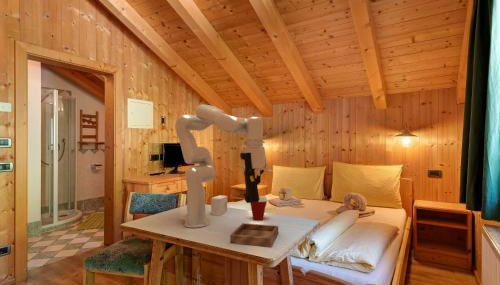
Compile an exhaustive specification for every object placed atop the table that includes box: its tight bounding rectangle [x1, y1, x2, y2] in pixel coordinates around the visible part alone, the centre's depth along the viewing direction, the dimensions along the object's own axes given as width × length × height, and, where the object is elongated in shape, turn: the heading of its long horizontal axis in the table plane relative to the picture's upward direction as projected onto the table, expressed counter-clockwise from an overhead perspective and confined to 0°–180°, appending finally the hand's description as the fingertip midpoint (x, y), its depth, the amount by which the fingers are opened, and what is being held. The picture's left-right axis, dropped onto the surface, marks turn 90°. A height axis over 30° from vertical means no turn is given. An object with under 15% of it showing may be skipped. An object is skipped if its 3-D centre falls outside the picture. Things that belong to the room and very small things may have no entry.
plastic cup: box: [249, 196, 269, 222], centre depth 150 cm, size 11×11×12 cm
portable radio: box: [239, 146, 260, 204], centre depth 120 cm, size 8×6×25 cm
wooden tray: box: [229, 222, 279, 248], centre depth 119 cm, size 18×18×4 cm
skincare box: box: [210, 194, 228, 216], centre depth 164 cm, size 10×6×10 cm, turn 159°
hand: (254, 183), depth 119 cm, fingers closed on portable radio, 2 cm apart
